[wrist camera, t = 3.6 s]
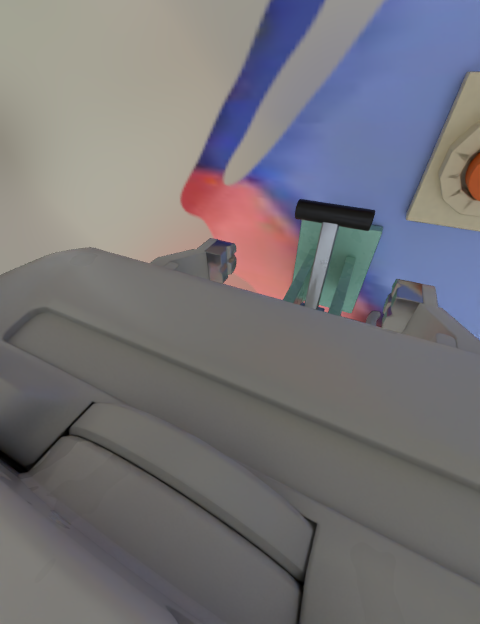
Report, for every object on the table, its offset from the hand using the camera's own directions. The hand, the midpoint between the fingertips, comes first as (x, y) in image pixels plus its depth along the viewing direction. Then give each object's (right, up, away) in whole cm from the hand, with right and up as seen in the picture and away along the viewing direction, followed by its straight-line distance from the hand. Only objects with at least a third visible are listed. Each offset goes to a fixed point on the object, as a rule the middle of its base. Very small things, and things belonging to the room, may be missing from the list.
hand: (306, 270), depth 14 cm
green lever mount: (+7, +4, +18) cm, 20 cm away
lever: (+3, +1, +9) cm, 9 cm away
